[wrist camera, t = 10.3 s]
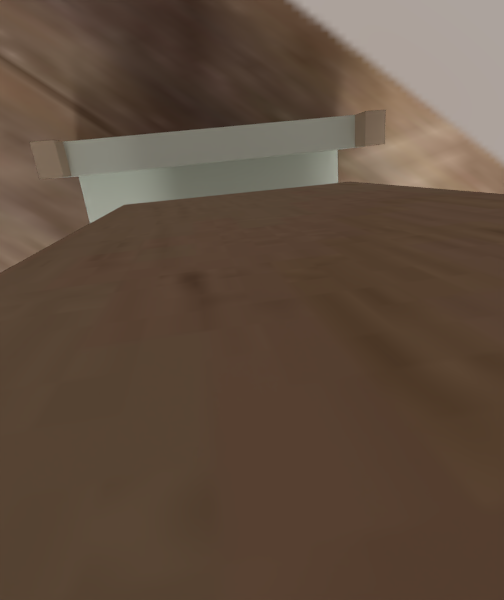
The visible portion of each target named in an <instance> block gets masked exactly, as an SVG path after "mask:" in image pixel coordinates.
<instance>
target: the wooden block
mask: <svg viewBox="0 0 504 600" xmlns="http://www.w3.org/2000/svg"><path fill="white" fill-rule="evenodd" d="M0 600H504V194H494V193H482V192H470V191H458V190H445V189H433V188H421V187H408V186H396V185H384V184H371V183H359V182H342V183H333V184H323V185H313V186H303V187H293V188H284V189H274V190H264V191H254V192H244V193H234V194H225V195H215V196H205V197H195V198H185V199H175V200H166V201H156V202H146V203H136V204H126V205H123V206H121V207H119V208H117V209H115V210H114V211H112V212H110V213H108V214H106V215H105V216H103V217H101V218H99V219H97V220H95V221H94V222H92V223H90V224H88V225H86V226H85V227H83V228H81V229H79V230H77V231H76V232H74V233H72V234H70V235H68V236H66V237H65V238H63V239H61V240H59V241H57V242H56V243H54V244H52V245H50V246H48V247H47V248H45V249H43V250H41V251H39V252H37V253H36V254H34V255H32V256H30V257H28V258H27V259H25V260H23V261H21V262H19V263H18V264H16V265H14V266H12V267H10V268H8V269H7V270H5V271H3V272H1V273H0Z"/></svg>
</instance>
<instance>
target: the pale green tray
mask: <svg viewBox="0 0 504 600" xmlns="http://www.w3.org/2000/svg"><path fill="white" fill-rule="evenodd" d="M385 118H386V110H375V111H365V112H362V113H359V114H356V115H348V116H337V117H326V118H315V119H305V120H294V121H283V122H272V123H261V124H250V125H239V126H228V127H218V128H207V129H196V130H185V131H174V132H163V133H152V134H141V135H131V136H120V137H109V138H98V139H87V140H76V141H65V142H62V141H57V140H46V141H35V142H29V143H30V146H31V150H32V153H33V157H34V161H35V164H36V168H37V171H38V175H39V178H40V179H50V178H65V177H79V180H80V184H81V188H82V193H83V197H84V201H85V205H86V209H87V213H88V217H89V221H90V223H92V222H94V221H95V220H97V219H99V218H101V217H103V216H105V215H106V214H108V213H110V212H112V211H114V210H115V209H117V208H119V207H121V206H123V205H126V204H136V203H146V202H156V201H166V200H175V199H185V198H195V197H205V196H215V195H225V194H234V193H244V192H254V191H264V190H274V189H284V188H293V187H303V186H313V185H323V184H333V183H338V151H337V150H341V149H349V148H356V147H364V146H372V145H379V144H385Z"/></svg>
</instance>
